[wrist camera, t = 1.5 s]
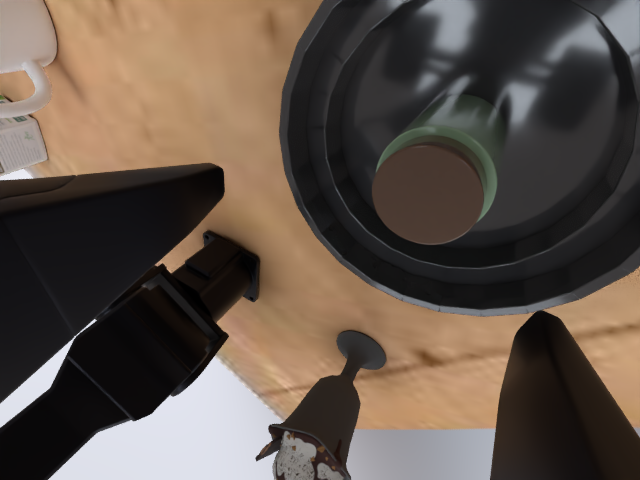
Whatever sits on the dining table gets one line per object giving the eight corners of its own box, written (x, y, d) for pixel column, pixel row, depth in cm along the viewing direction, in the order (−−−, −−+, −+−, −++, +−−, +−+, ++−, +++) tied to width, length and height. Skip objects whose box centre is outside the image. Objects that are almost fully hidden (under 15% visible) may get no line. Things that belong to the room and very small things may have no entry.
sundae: (408, 375, 29) (335, 590, 19) (350, 373, 34) (264, 546, 23) (374, 320, 28) (272, 522, 17) (317, 326, 32) (208, 488, 21)
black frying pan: (528, 305, 20) (527, 364, 17) (305, 204, 24) (270, 235, 21) (841, -27, 10) (993, -39, 6) (352, -101, 14) (298, -131, 11)
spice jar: (478, 197, 17) (457, 270, 13) (398, 166, 19) (352, 222, 14) (527, 111, 14) (523, 165, 10) (428, 81, 16) (382, 117, 11)
